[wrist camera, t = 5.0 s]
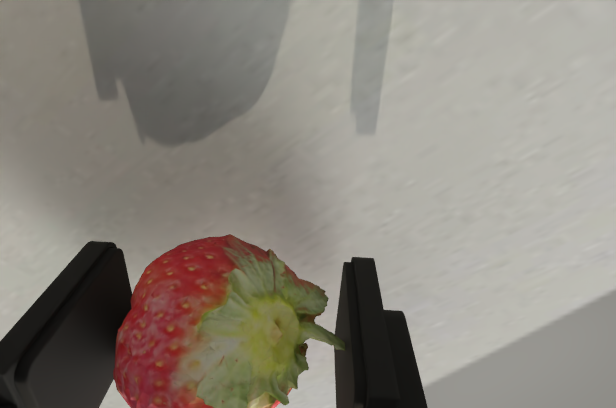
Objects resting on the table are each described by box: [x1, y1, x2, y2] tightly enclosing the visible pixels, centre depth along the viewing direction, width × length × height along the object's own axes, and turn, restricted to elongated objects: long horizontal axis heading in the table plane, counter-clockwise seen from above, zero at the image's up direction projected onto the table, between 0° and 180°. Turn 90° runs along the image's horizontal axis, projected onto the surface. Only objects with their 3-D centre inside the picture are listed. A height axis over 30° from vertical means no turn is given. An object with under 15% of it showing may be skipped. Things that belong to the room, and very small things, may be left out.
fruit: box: [113, 234, 345, 408], centre depth 9 cm, size 4×6×5 cm
